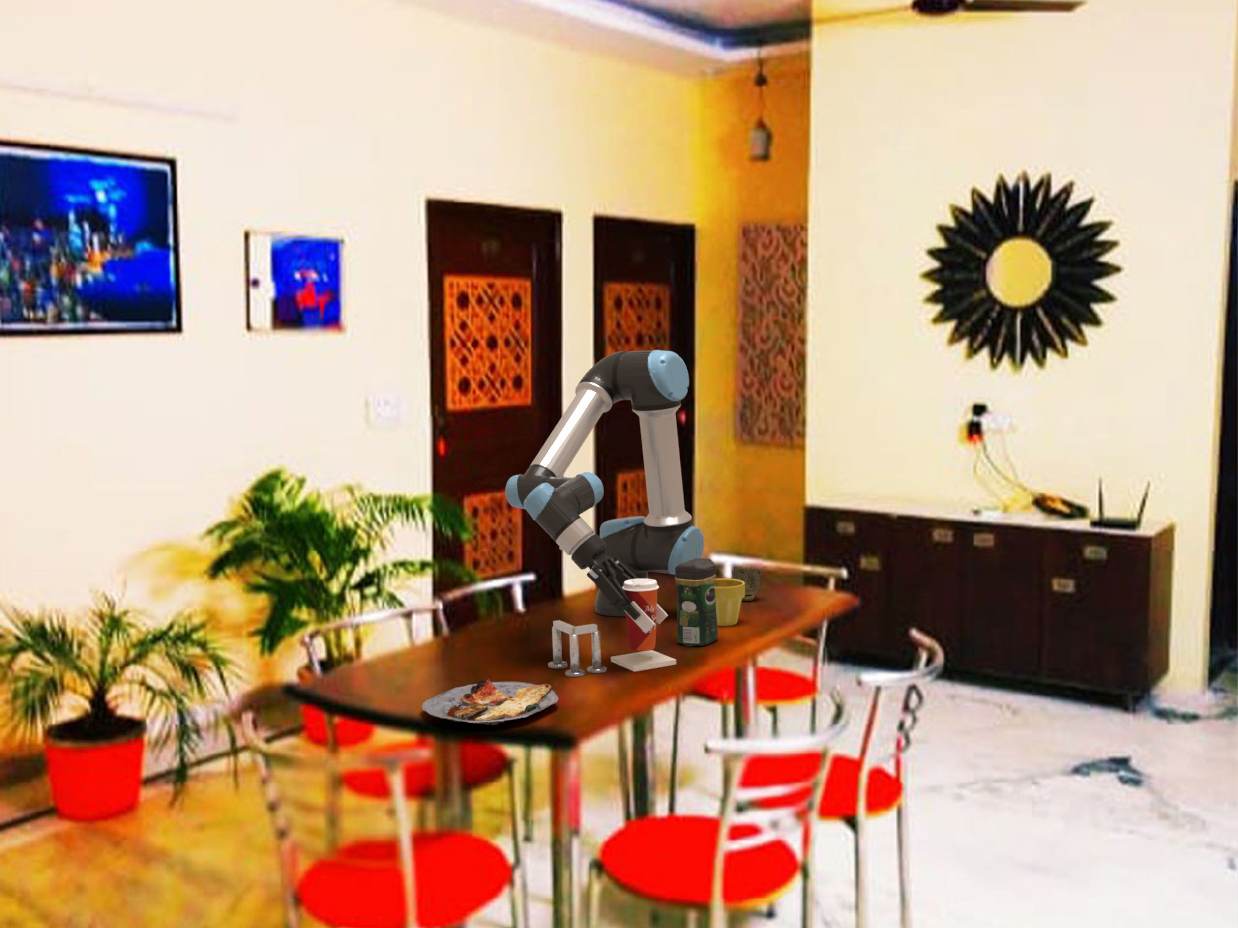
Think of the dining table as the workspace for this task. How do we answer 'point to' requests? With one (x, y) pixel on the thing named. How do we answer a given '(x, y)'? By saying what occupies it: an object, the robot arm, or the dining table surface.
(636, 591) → the paper cup
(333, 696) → the dining table surface
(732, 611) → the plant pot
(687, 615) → the coffee jar
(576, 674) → the bent rail
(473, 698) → the food plate
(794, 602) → the dining table surface
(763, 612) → the dining table surface
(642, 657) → the cream tile
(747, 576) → the cup
